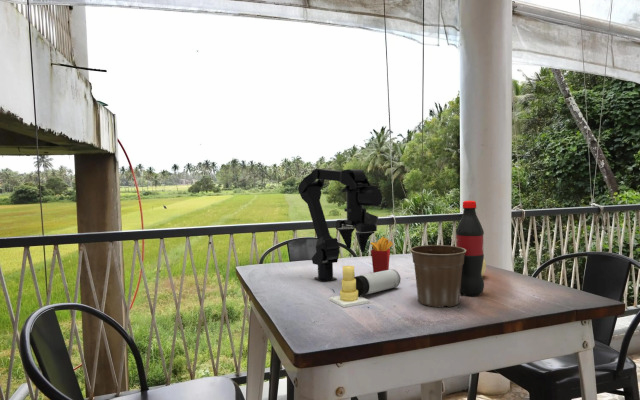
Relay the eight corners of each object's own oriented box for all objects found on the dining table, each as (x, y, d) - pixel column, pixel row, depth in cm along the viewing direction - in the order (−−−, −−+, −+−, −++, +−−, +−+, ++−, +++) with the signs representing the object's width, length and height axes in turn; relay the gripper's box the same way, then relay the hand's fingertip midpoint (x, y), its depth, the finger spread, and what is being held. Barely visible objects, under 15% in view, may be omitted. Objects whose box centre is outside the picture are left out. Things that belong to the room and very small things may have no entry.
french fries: (370, 275, 164) (370, 237, 163) (375, 271, 171) (374, 234, 171) (393, 277, 161) (392, 238, 160) (396, 272, 168) (396, 235, 168)
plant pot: (459, 313, 116) (458, 255, 115) (403, 305, 124) (402, 251, 123) (472, 298, 129) (471, 246, 129) (421, 292, 138) (420, 243, 137)
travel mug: (404, 283, 142) (366, 292, 128) (390, 289, 146) (352, 299, 132) (397, 266, 144) (359, 273, 130) (383, 272, 148) (345, 280, 134)
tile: (329, 300, 131) (329, 297, 131) (354, 296, 135) (354, 293, 135) (343, 307, 123) (343, 304, 123) (369, 302, 127) (369, 300, 127)
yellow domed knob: (336, 299, 129) (335, 267, 129) (347, 295, 133) (347, 264, 133) (350, 302, 125) (349, 269, 125) (361, 298, 129) (361, 266, 129)
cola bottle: (483, 291, 138) (483, 199, 136) (484, 298, 130) (484, 201, 128) (456, 289, 140) (455, 200, 139) (456, 296, 132) (455, 201, 131)
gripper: (389, 205, 140) (390, 251, 141) (360, 203, 157) (361, 244, 158) (361, 207, 136) (362, 254, 136) (334, 204, 152) (335, 247, 153)
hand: (355, 250), depth 146 cm, fingers open, 9 cm apart
